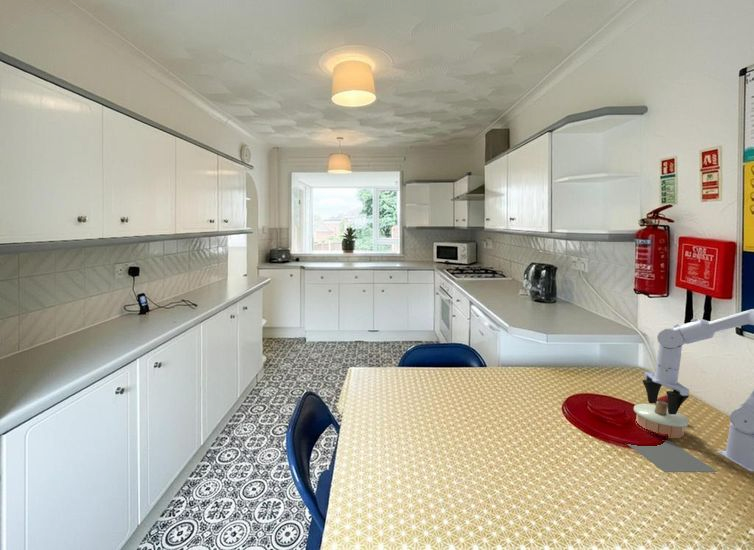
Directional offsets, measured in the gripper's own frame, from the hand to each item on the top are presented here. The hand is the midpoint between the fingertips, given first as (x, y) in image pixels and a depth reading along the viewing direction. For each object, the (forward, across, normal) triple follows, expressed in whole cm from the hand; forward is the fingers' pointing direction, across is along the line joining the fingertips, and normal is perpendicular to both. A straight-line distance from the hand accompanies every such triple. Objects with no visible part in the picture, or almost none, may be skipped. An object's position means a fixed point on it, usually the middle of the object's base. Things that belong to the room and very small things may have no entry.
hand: (661, 408), depth 122 cm
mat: (+7, +15, -11) cm, 20 cm away
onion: (+7, -9, +10) cm, 15 cm away
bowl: (+7, 0, 0) cm, 7 cm away
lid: (+2, 0, 0) cm, 3 cm away
